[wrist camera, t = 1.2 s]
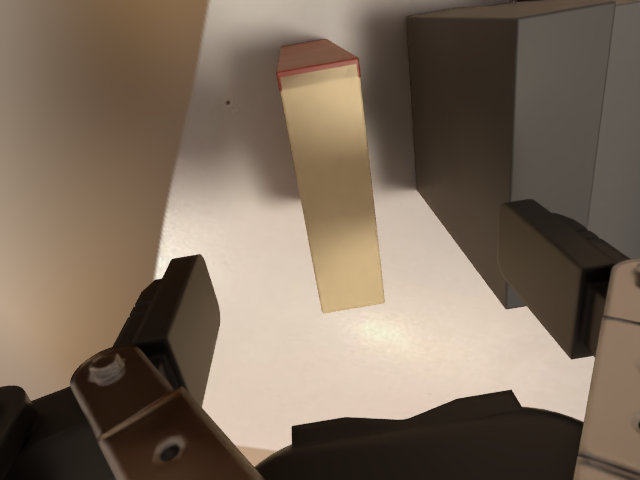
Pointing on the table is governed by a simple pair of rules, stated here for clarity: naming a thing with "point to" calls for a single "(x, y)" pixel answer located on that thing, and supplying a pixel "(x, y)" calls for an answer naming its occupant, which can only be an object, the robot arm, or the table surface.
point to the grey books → (528, 119)
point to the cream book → (332, 171)
